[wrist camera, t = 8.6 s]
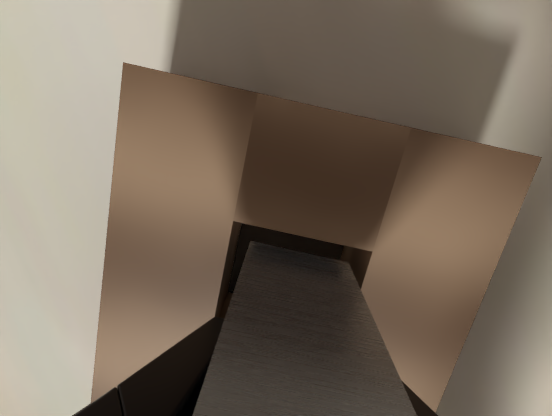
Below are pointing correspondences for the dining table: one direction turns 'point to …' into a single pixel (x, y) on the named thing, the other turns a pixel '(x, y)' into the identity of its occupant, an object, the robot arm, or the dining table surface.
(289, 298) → the square bit
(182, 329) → the socket block
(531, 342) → the dining table surface
